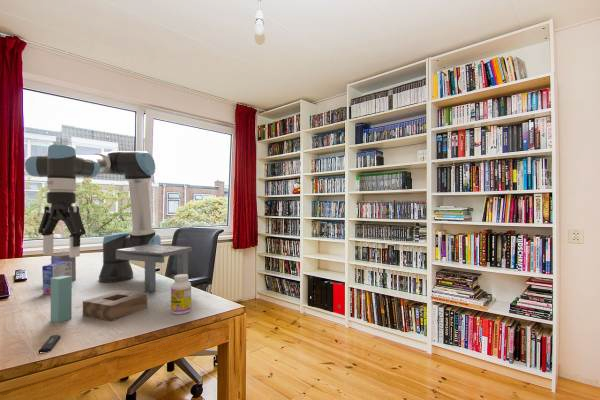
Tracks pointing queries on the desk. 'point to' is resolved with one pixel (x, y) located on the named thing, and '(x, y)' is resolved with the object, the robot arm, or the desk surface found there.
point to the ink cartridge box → (55, 273)
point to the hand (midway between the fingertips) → (61, 255)
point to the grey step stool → (155, 260)
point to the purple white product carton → (66, 258)
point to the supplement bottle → (180, 295)
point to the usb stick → (49, 343)
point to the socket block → (114, 305)
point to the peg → (61, 298)
